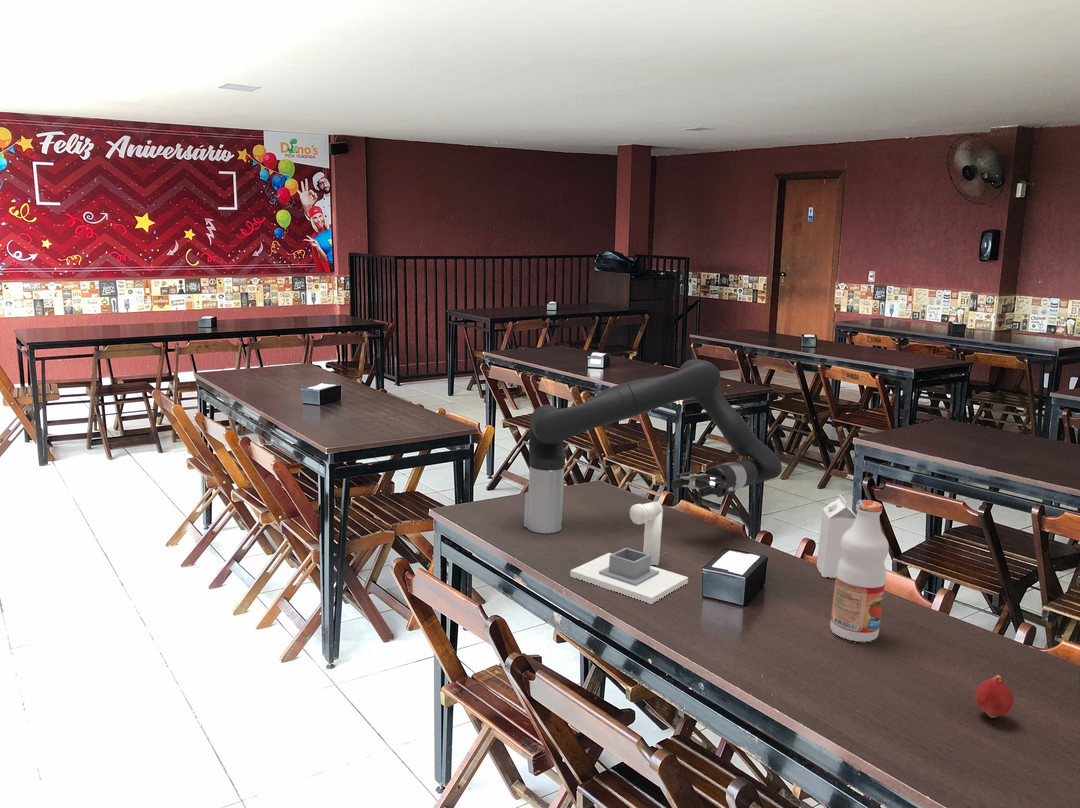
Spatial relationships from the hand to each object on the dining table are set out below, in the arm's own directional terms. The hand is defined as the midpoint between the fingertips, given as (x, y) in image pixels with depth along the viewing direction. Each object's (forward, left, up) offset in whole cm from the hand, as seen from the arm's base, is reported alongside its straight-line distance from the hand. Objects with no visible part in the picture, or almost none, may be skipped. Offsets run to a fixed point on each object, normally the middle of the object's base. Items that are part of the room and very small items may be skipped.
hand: (685, 488), depth 217 cm
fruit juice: (+49, -15, -17) cm, 54 cm away
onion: (+78, -31, -17) cm, 86 cm away
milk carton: (+34, +15, -17) cm, 41 cm away
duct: (0, -24, -17) cm, 29 cm away
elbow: (-2, -13, -17) cm, 22 cm away
